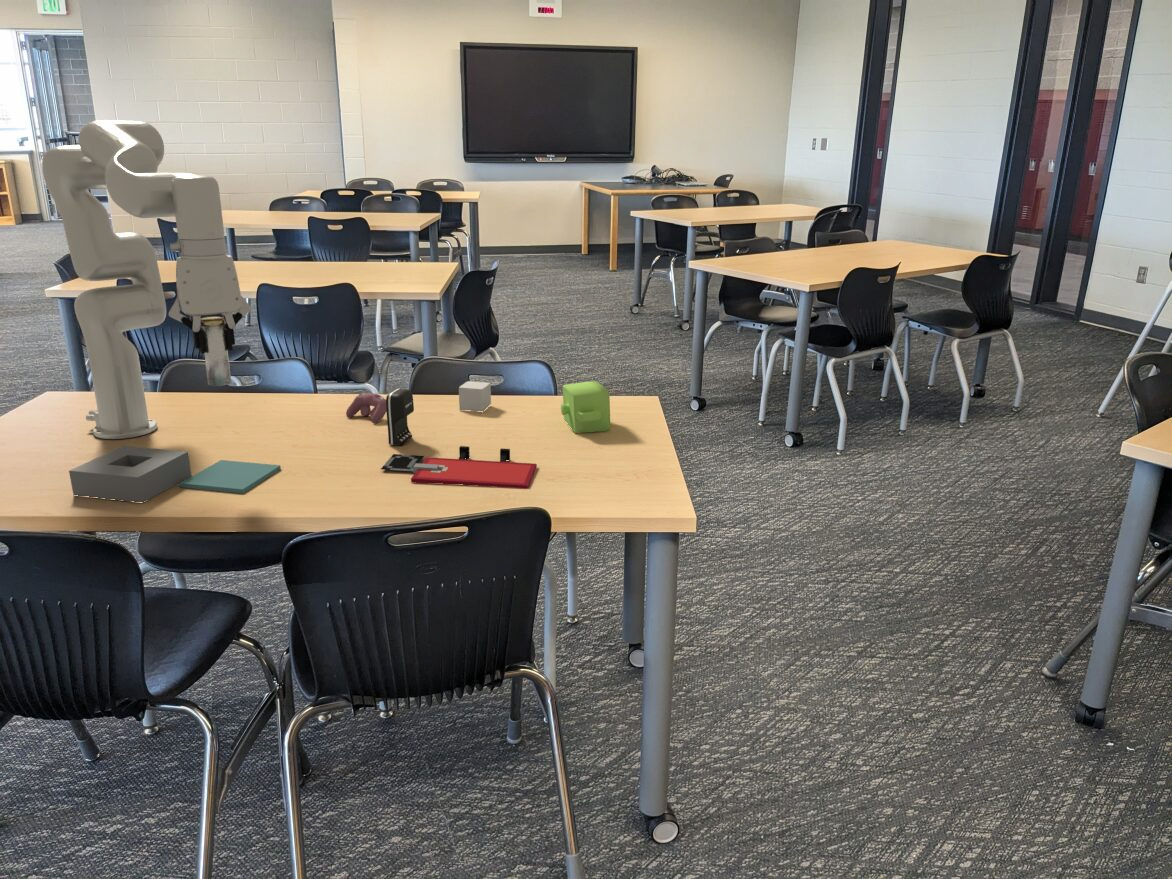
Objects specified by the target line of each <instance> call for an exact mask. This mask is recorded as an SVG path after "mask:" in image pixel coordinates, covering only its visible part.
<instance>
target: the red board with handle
mask: <svg viewBox="0 0 1172 879" xmlns="http://www.w3.org/2000/svg"><path fill="white" fill-rule="evenodd" d="M458 452H459V457H458V458H447V457H446V458H444V457H430V456H429V457H428V456H427V457H425V455H418V454H417V455H415V454H401V453H399V454H398V453H393V454H392V455H391V456H390V457H389V459H388V460H387V461H386V462H385V463H384V464H383V466H382V467H381V468H380V470H386V471H388V470H389V471H400V472H401V471H402V472H403V471H404V472H405V471H406V472H412V473H413V475H412V476H411V477H410V483H411V482H416V483H415V484H428V483H443V484H442V485H448V484H463V485H462V486H469V485H478V486H477V487H490V486H497V488H515V489H529V486H530V485H529V484H531V483H532V480H533V478H532V477H534V474H535V473H534V472H536V471H537V468H536V467H537V466H538V464H537V463H529V462H528V463H527V462H515V461H514V462H513V461H511V462H510V461H506V460H511V449H510V448H500V450H499V461H498V460H497V461H496V460H478V459H470V458H471V455H470V446H465V445H460V446H459V451H458ZM469 457H470V458H469ZM424 458H425V459H424ZM465 458H466V459H469V460H466V459H465ZM423 459H424V460H423ZM422 460H423V462H422V463H421V461H422ZM414 473H415V474H414Z"/></svg>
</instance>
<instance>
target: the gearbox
mask: <svg viewBox="0 0 1172 879" xmlns="http://www.w3.org/2000/svg"><path fill="white" fill-rule="evenodd" d="M610 400H611V398H610V391H609V390H608V389H607V388H606V387H605V386H604V385H603V384H602V383H600V382H598V380H596V381H595V380H593V381H592V380H591V381H583V382H577V383H576V382H575V383H574V382H573V383H569V384H568V383H567V384H563V385H562V404H560V412H561V415H562V416H563V421H564V420H565V421H566V422H567V423H568V425H569V426H570V427H571V428H572V430H573V431H574V432H575V433H574V432H573V431H572V430H571V431H572V432H573V433H574V434H578V433H577V432H587V433H596V432H597V431H598V432H604V431H609V430H611V404H610V402H611V401H610ZM565 421H564V422H565ZM568 425H567V426H568ZM569 426H568V427H569ZM570 427H569V428H570ZM595 431H596V432H595Z"/></svg>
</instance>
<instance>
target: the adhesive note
mask: <svg viewBox="0 0 1172 879" xmlns="http://www.w3.org/2000/svg"><path fill="white" fill-rule="evenodd" d="M491 388H492V387H491V382H482V381H471V380H470V381H469V380H468V381H465V382H464V383H463V384H461V385H459V387H458V402H459V403H458V405H459V408H458V409H459V410H471V411H484V410H485V409H486V408H487V407H488V406H489V405H490V404H491V405H492V389H491ZM484 412H485V411H484Z"/></svg>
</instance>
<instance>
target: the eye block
mask: <svg viewBox="0 0 1172 879" xmlns="http://www.w3.org/2000/svg"><path fill="white" fill-rule="evenodd" d="M189 455H190V454H189V451H183V450H174V449H173V450H172V449H164V448H162V449H161V448H152V447H142V446H141V447H139V446H129V445H123V446H121V447H118V448H116V449H114V450H112V451H109V452H107V453H105V454H102V455H100V456H98V457H96V458H93V459H91V460H89V461H87V462H85V463H83V464H80V465H78V466H76V467H74V468H71V469H70V470H68V473H69V479H70V485H71V490H72V493H73V496H74V495H78V496H89V497H98V498H105V499H115V500H123V501H134V502H144V501H146V500H148V499H150V498H151V499H153V498H155V497H157V496H158V494H159V493H160V494H162V493H163V491H164V492H166V491H167V490H170V488H172V486H173V487H174V485H175V486H176V485H178V484H180V483H181V482H182V481H183V480H186V479H188V478H190V477H191V476H192V469H191V464H190V456H189ZM165 490H166V491H165ZM161 492H162V493H161ZM160 494H159V495H160ZM156 495H157V496H156ZM154 496H155V497H154ZM152 497H153V498H152ZM151 499H150V500H151ZM148 501H149V500H148ZM146 502H147V501H146ZM144 503H145V502H144Z"/></svg>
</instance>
